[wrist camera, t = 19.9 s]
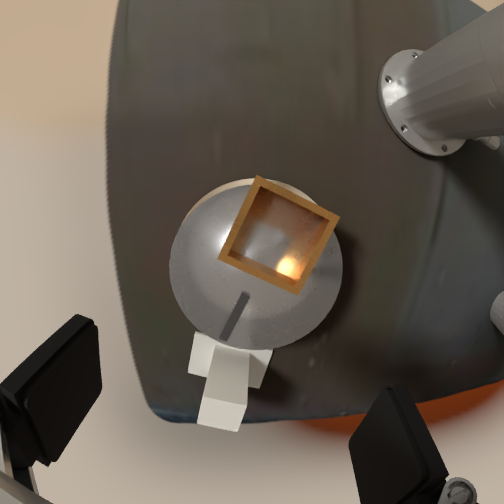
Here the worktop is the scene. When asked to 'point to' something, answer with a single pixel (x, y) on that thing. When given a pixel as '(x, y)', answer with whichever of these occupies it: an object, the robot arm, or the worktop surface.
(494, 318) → the house plant
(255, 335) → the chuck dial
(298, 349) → the worktop surface
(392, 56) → the robot arm
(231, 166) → the worktop surface
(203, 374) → the mat
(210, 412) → the white rectangular block
